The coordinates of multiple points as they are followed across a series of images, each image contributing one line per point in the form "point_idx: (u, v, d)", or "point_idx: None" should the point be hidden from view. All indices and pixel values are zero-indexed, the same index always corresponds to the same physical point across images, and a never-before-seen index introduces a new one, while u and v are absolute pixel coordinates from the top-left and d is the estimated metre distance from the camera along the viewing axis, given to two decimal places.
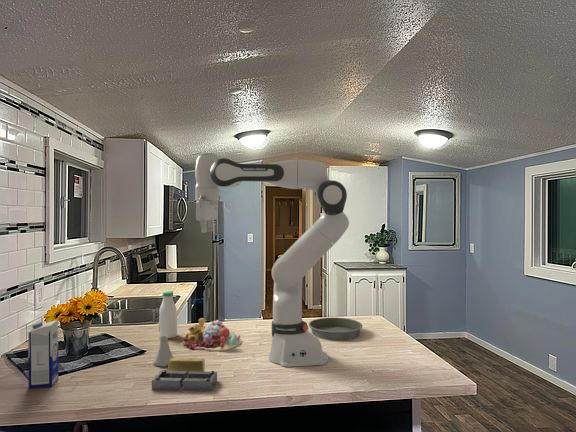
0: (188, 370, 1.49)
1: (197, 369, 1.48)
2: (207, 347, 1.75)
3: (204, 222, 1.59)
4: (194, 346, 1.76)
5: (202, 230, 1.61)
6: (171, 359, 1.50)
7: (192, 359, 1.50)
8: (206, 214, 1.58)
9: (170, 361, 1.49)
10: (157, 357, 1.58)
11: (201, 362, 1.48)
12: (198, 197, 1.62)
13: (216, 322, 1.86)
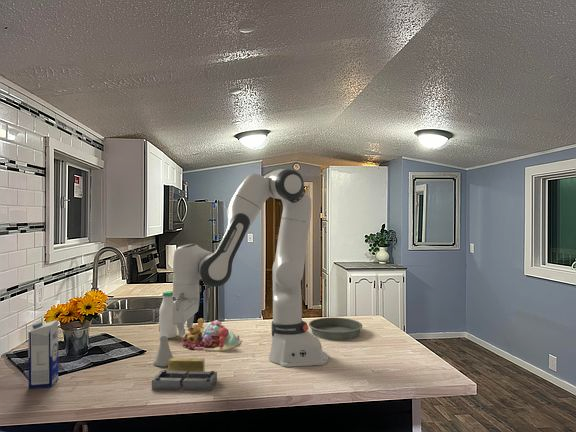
0: (188, 370, 1.49)
1: (197, 369, 1.48)
2: (206, 347, 1.75)
3: (181, 324, 1.43)
4: (193, 346, 1.76)
5: (179, 332, 1.44)
6: (171, 359, 1.50)
7: (192, 359, 1.50)
8: (183, 317, 1.41)
9: (170, 361, 1.49)
10: (157, 357, 1.58)
11: (201, 362, 1.48)
12: (175, 294, 1.46)
13: (215, 322, 1.85)
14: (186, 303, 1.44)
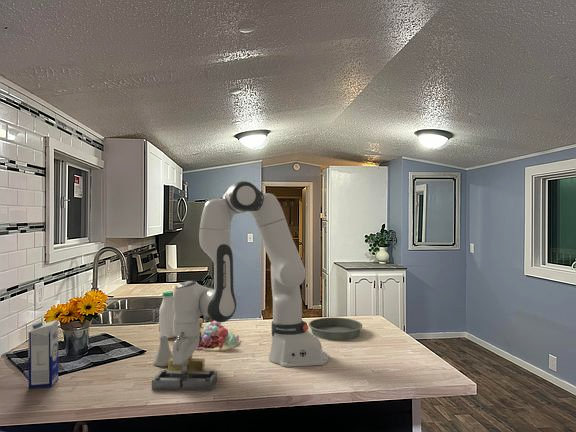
0: (188, 370, 1.49)
1: (197, 369, 1.48)
2: (206, 347, 1.75)
3: None
4: None
5: (182, 368, 1.47)
6: (171, 359, 1.50)
7: (192, 359, 1.50)
8: (184, 357, 1.41)
9: (170, 361, 1.49)
10: (157, 357, 1.58)
11: (201, 362, 1.48)
12: (176, 333, 1.46)
13: (215, 322, 1.85)
14: (186, 342, 1.44)
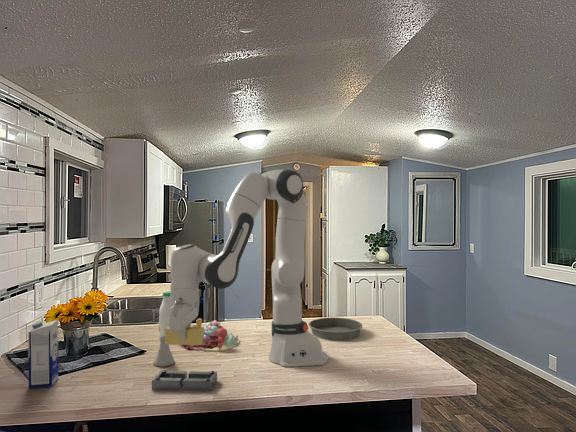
0: (186, 339, 1.38)
1: (196, 338, 1.38)
2: (205, 347, 1.75)
3: (182, 329, 1.36)
4: (192, 346, 1.76)
5: (180, 337, 1.37)
6: (168, 327, 1.40)
7: (190, 328, 1.40)
8: (182, 323, 1.31)
9: (167, 329, 1.39)
10: (157, 357, 1.58)
11: (200, 330, 1.38)
12: (173, 299, 1.36)
13: (214, 322, 1.85)
14: (185, 308, 1.34)
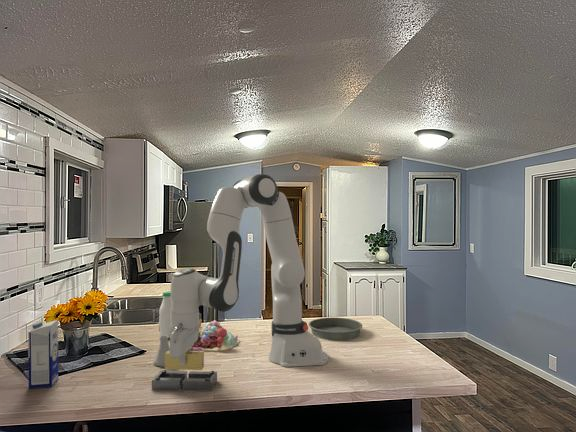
0: (186, 364, 1.38)
1: (196, 363, 1.38)
2: (204, 347, 1.75)
3: (183, 354, 1.36)
4: (191, 347, 1.75)
5: (180, 362, 1.37)
6: (168, 352, 1.40)
7: (190, 352, 1.40)
8: (182, 349, 1.31)
9: (167, 354, 1.39)
10: (157, 357, 1.58)
11: (200, 355, 1.38)
12: (173, 324, 1.36)
13: (213, 322, 1.85)
14: (185, 334, 1.34)
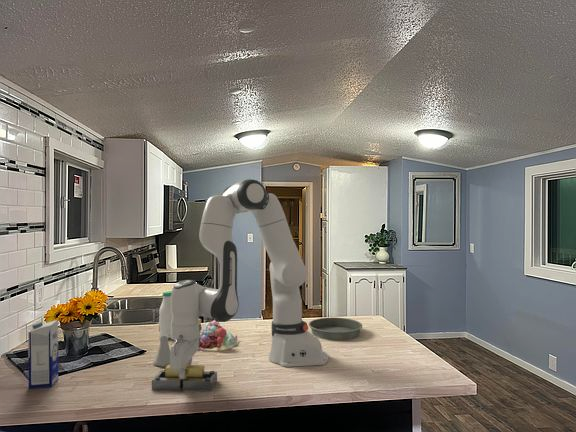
0: None
1: (196, 377, 1.38)
2: (204, 348, 1.74)
3: None
4: None
5: (180, 375, 1.36)
6: (168, 366, 1.40)
7: (191, 366, 1.40)
8: (182, 362, 1.31)
9: (167, 368, 1.39)
10: (157, 357, 1.58)
11: (201, 369, 1.38)
12: (174, 336, 1.36)
13: (213, 322, 1.85)
14: (185, 346, 1.34)
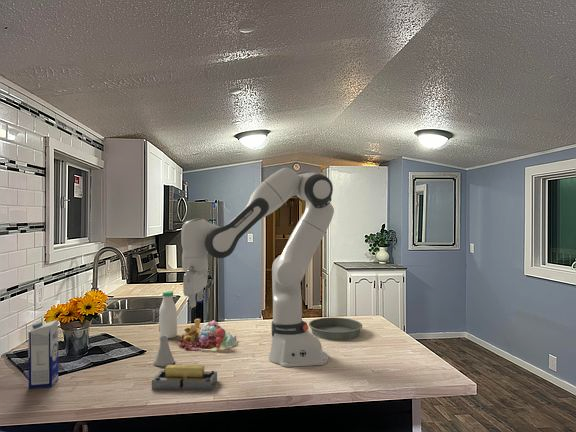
0: None
1: (196, 377, 1.38)
2: (203, 348, 1.74)
3: (193, 296, 1.47)
4: (190, 347, 1.75)
5: (191, 304, 1.48)
6: (168, 366, 1.40)
7: (191, 366, 1.40)
8: (194, 288, 1.45)
9: (167, 368, 1.39)
10: (157, 357, 1.58)
11: (201, 369, 1.38)
12: (185, 268, 1.49)
13: (212, 323, 1.85)
14: (196, 275, 1.47)
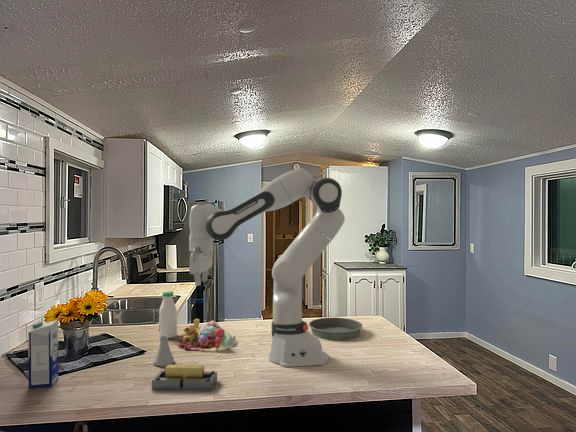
0: None
1: (196, 377, 1.38)
2: (202, 348, 1.74)
3: (198, 275, 1.56)
4: (189, 347, 1.75)
5: (196, 283, 1.57)
6: (168, 366, 1.40)
7: (191, 366, 1.40)
8: (200, 267, 1.54)
9: (167, 368, 1.39)
10: (157, 357, 1.58)
11: (201, 369, 1.38)
12: (192, 248, 1.59)
13: (211, 323, 1.85)
14: (202, 255, 1.57)
